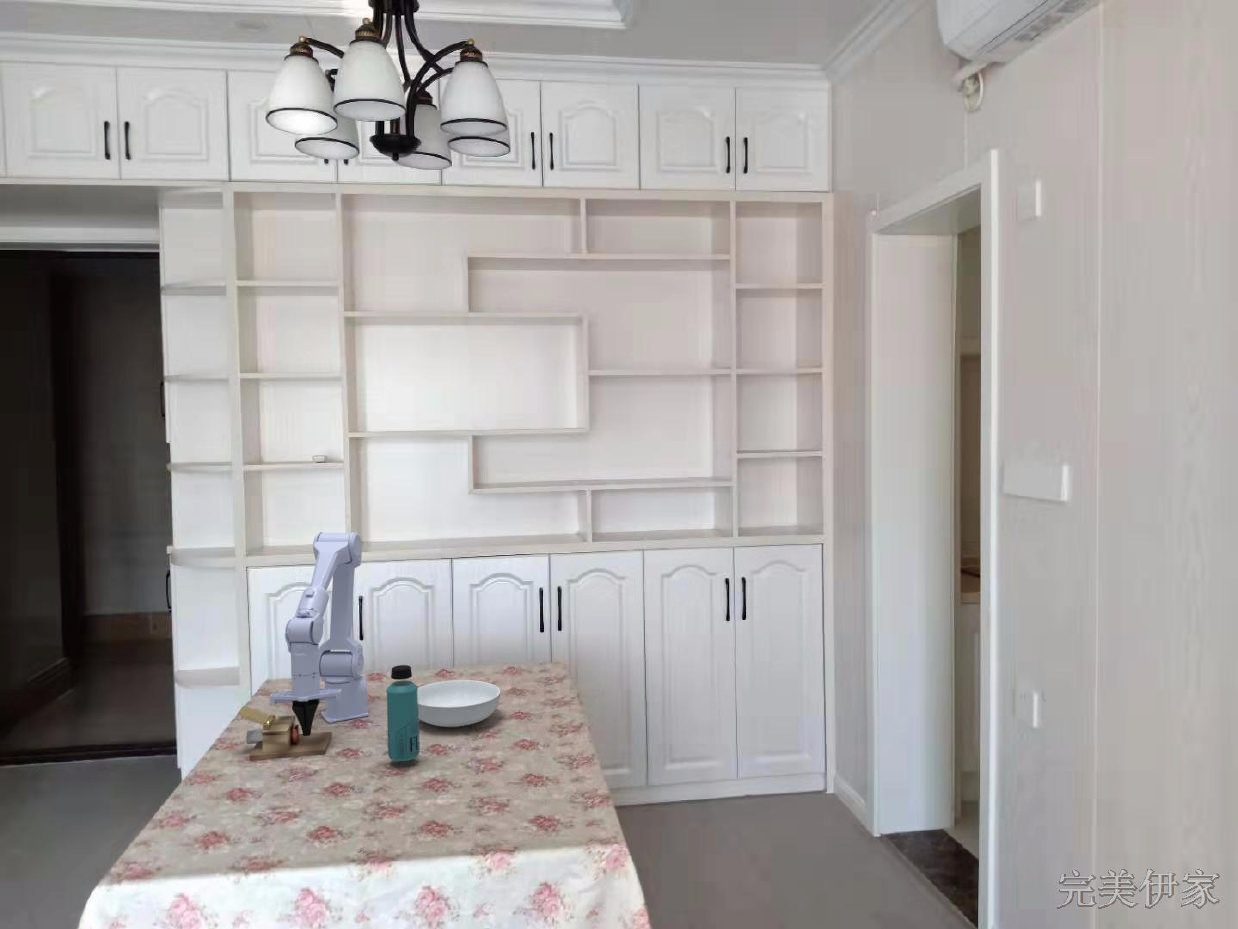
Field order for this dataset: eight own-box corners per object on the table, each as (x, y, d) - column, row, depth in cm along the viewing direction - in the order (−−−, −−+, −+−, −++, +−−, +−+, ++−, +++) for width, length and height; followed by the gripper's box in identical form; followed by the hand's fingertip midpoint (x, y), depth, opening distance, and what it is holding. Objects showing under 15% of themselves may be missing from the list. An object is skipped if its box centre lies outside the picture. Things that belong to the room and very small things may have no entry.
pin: (299, 739, 188) (299, 722, 188) (296, 745, 184) (296, 728, 184) (250, 743, 186) (249, 725, 186) (246, 749, 182) (245, 731, 182)
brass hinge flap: (272, 721, 187) (274, 717, 187) (268, 728, 183) (270, 723, 183) (241, 708, 186) (243, 704, 186) (236, 715, 181) (238, 711, 181)
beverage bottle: (412, 770, 174) (409, 672, 173) (381, 767, 175) (379, 670, 174) (425, 757, 180) (423, 663, 179) (396, 755, 181) (394, 661, 180)
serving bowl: (493, 737, 191) (492, 706, 191) (399, 737, 192) (398, 707, 192) (507, 706, 212) (506, 678, 212) (422, 706, 213) (422, 679, 212)
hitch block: (331, 736, 193) (331, 707, 193) (325, 754, 182) (324, 724, 182) (260, 741, 190) (259, 712, 190) (249, 760, 179) (248, 729, 179)
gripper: (265, 680, 180) (267, 743, 181) (338, 675, 183) (339, 738, 184) (272, 670, 187) (274, 732, 188) (342, 666, 190) (343, 726, 191)
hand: (307, 734), depth 186 cm, fingers closed
